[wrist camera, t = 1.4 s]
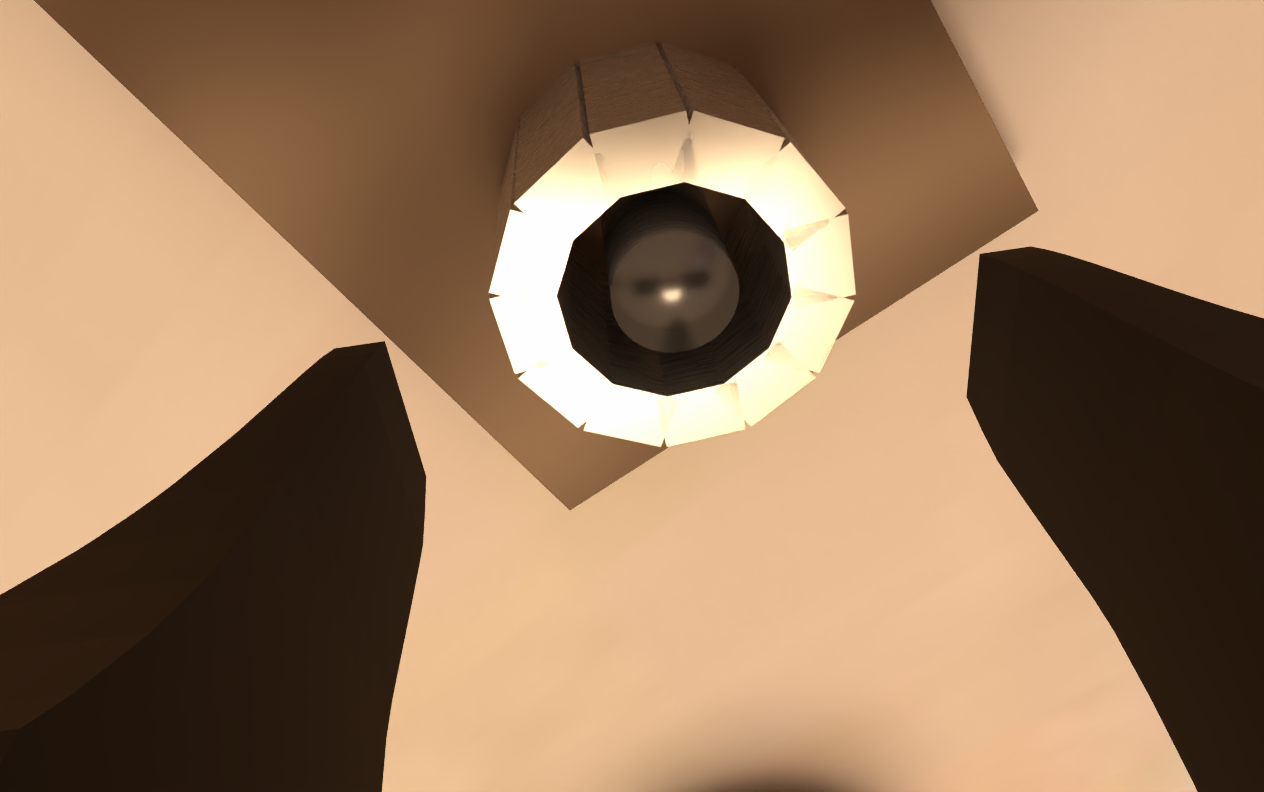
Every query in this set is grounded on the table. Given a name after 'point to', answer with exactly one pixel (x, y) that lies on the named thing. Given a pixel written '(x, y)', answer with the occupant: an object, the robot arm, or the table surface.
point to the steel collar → (756, 241)
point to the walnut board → (482, 138)
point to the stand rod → (668, 268)
